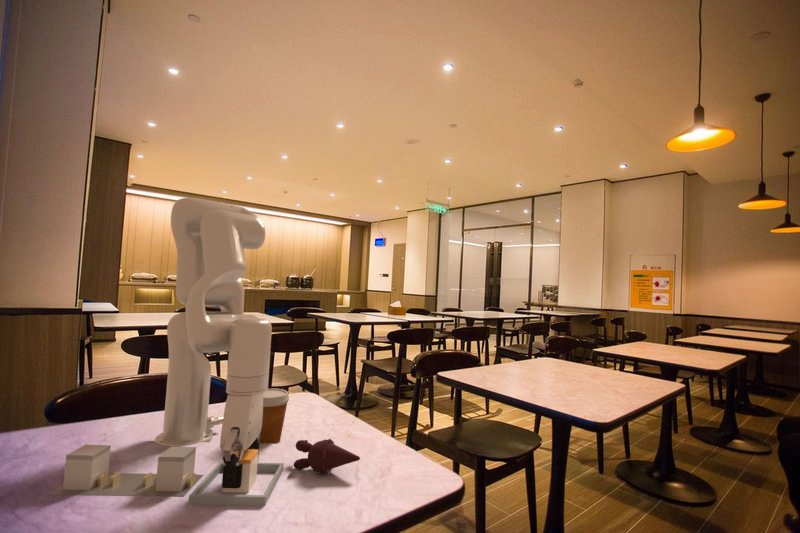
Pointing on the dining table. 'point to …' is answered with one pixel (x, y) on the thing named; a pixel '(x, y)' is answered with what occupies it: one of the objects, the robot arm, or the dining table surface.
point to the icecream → (323, 456)
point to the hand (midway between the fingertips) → (241, 474)
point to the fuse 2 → (175, 468)
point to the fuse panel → (128, 486)
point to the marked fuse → (247, 471)
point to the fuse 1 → (86, 466)
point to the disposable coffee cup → (273, 415)
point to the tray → (251, 500)
